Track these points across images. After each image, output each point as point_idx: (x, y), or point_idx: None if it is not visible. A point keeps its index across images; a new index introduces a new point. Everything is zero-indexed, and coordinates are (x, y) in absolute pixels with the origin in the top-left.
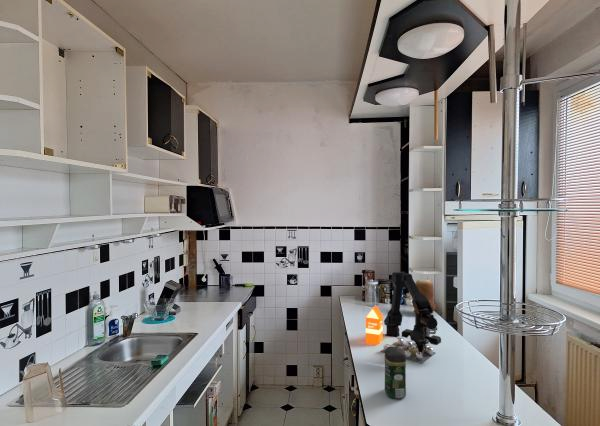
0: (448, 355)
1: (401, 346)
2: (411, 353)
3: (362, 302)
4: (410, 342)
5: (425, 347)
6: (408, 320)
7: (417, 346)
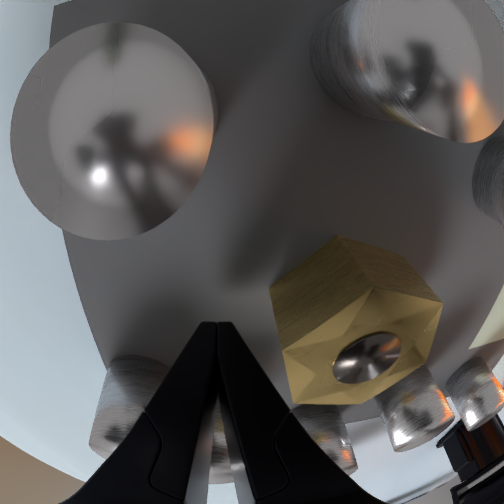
0: (67, 423)
1: (459, 363)
2: (366, 254)
3: None
4: (414, 438)
5: None
6: (389, 495)
7: (291, 425)
